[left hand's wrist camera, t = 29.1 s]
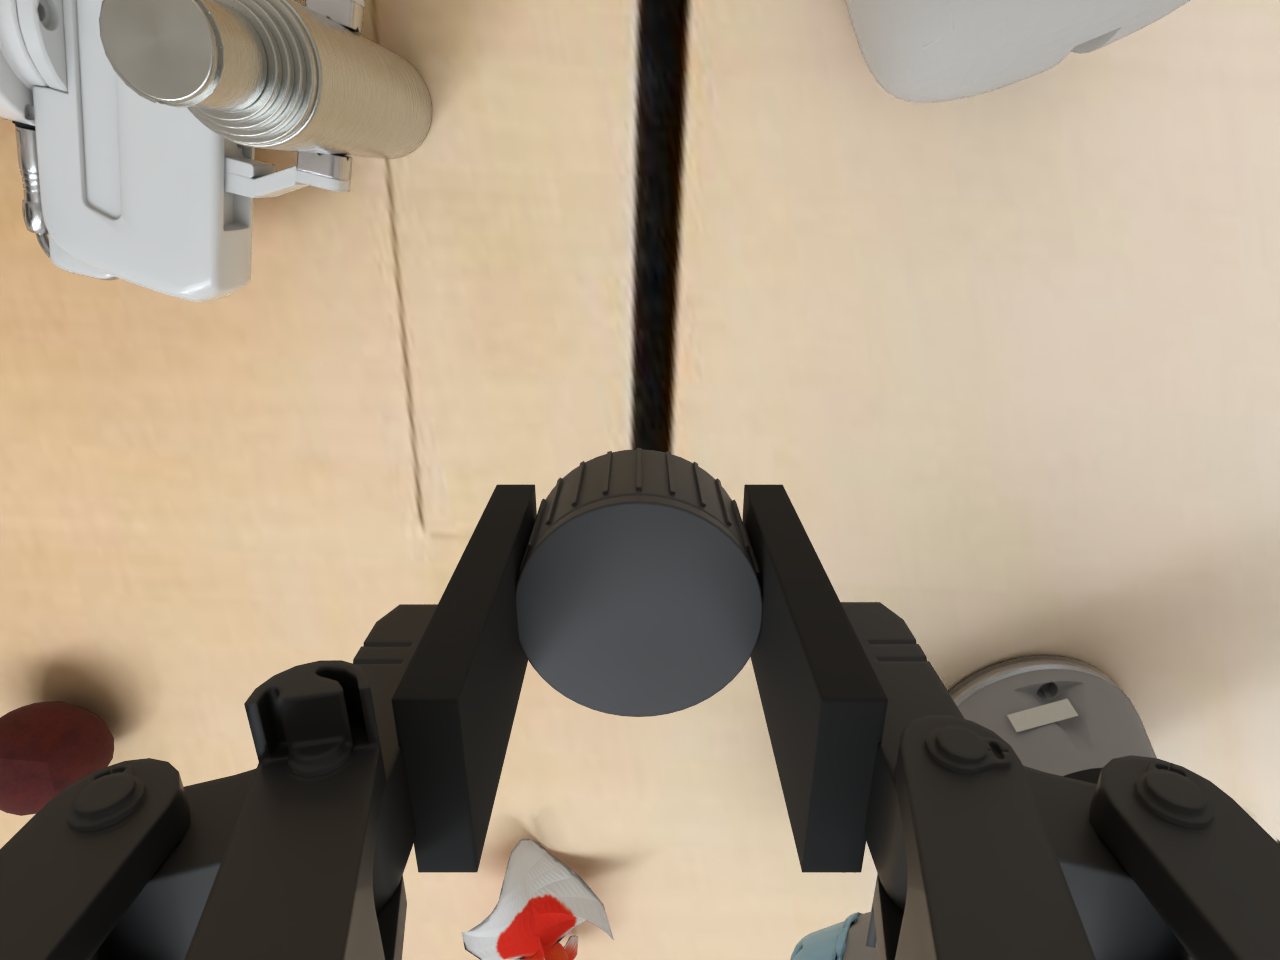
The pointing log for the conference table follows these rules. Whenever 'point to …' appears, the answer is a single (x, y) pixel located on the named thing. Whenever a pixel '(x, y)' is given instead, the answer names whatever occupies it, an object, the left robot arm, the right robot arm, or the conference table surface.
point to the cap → (638, 586)
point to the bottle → (269, 75)
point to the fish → (536, 910)
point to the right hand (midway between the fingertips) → (353, 95)
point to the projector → (985, 39)
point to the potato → (48, 753)
